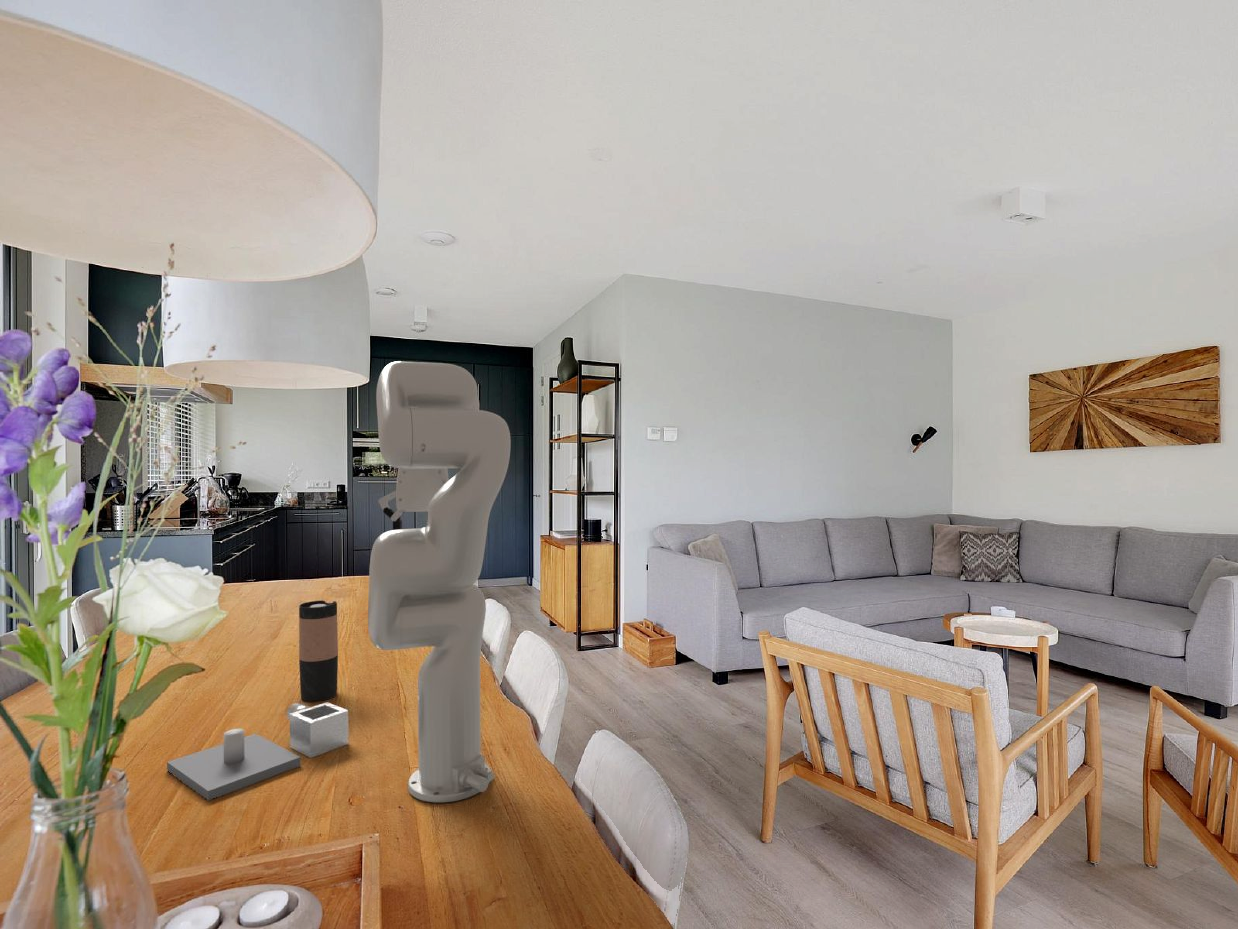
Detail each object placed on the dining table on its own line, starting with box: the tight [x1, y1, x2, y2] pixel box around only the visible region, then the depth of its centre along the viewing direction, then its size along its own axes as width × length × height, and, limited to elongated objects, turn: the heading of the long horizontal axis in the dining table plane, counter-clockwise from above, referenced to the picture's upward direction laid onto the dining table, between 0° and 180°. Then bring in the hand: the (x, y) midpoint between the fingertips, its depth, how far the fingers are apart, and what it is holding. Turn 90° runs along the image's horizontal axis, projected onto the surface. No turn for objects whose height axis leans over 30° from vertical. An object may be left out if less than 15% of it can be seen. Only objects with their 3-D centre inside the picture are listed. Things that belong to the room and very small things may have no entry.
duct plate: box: [166, 728, 302, 802], centre depth 109 cm, size 16×14×6 cm
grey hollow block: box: [286, 701, 350, 759], centre depth 119 cm, size 12×7×6 cm, turn 53°
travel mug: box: [298, 600, 339, 703], centre depth 143 cm, size 8×8×20 cm
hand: (423, 539), depth 133 cm, fingers open, 9 cm apart
